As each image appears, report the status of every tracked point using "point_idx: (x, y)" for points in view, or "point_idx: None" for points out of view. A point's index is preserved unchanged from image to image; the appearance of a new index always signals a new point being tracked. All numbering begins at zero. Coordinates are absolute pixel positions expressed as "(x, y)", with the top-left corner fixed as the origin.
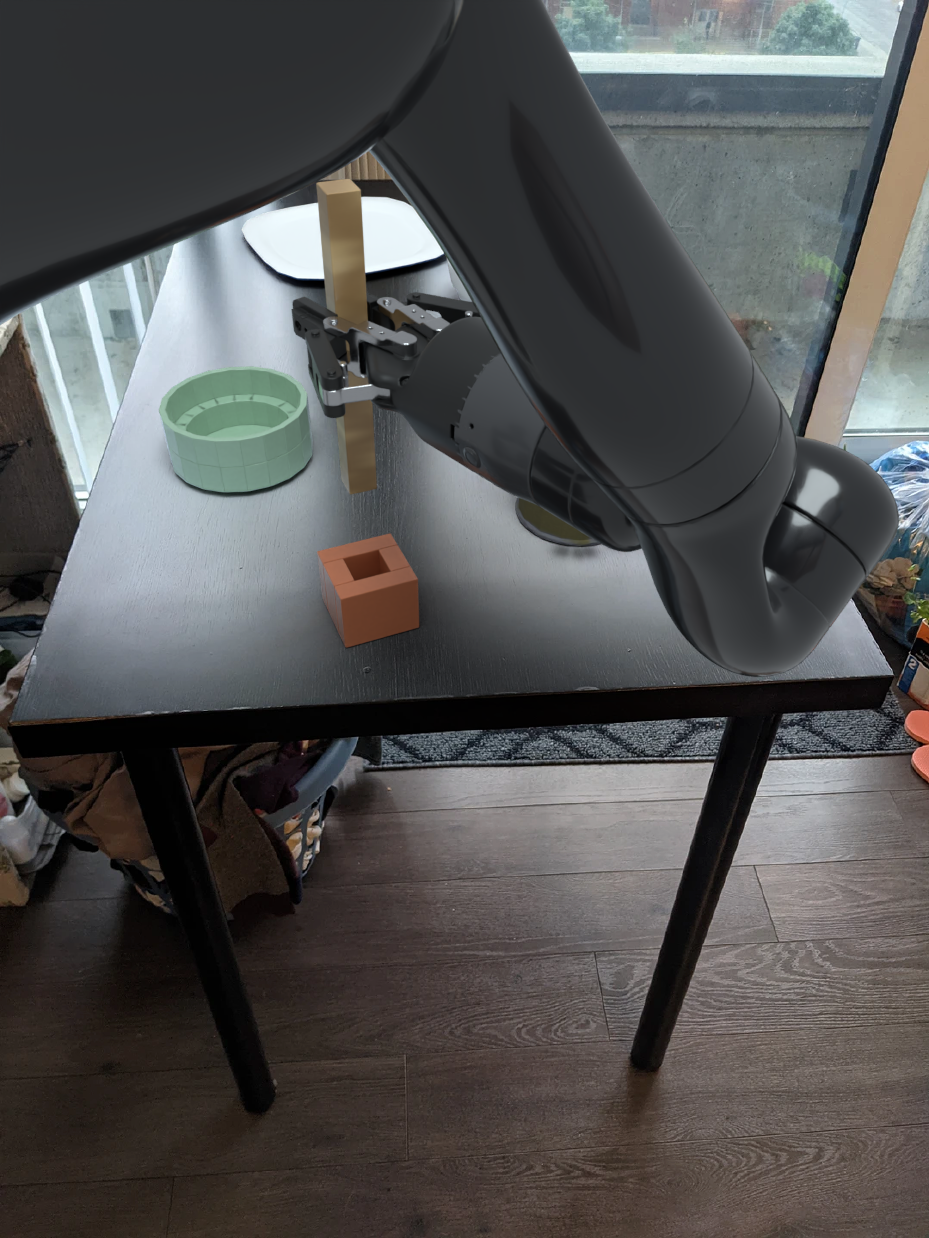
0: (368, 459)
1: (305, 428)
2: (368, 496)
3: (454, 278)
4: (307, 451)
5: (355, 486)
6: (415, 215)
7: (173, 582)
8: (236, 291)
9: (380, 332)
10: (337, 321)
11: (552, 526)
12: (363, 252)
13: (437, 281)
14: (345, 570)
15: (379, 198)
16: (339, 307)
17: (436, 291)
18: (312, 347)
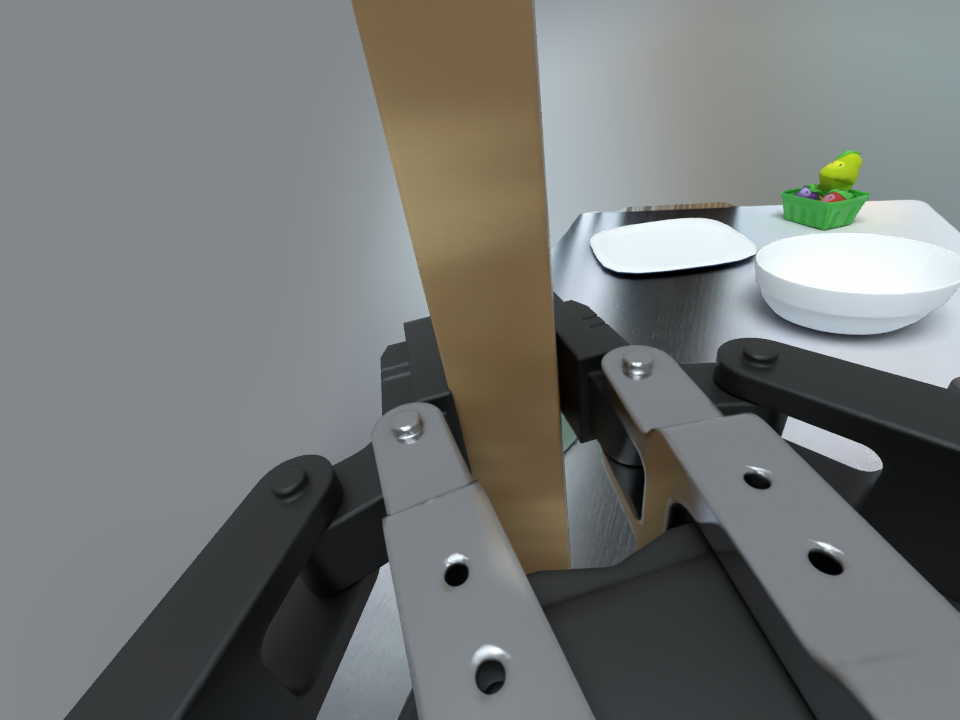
0: None
1: None
2: (620, 510)
3: (761, 277)
4: (569, 437)
5: None
6: (725, 229)
7: (386, 567)
8: (572, 278)
9: (487, 651)
10: (418, 430)
11: None
12: (540, 175)
13: (738, 278)
14: None
15: (697, 218)
16: (456, 372)
17: (736, 287)
18: (184, 587)
